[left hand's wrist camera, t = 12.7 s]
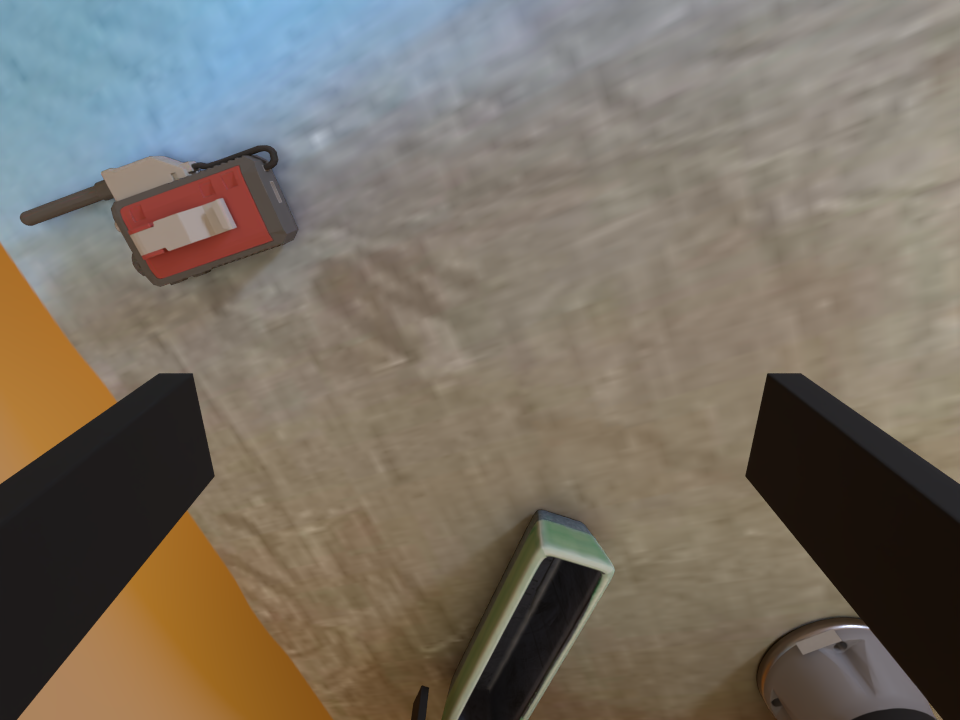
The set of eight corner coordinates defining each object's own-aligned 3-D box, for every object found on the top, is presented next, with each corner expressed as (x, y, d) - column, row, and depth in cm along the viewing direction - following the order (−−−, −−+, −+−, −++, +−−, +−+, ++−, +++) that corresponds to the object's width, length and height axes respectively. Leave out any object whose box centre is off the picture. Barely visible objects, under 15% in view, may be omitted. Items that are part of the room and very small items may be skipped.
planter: (532, 493, 50) (540, 545, 44) (601, 515, 51) (619, 569, 45) (437, 685, 60) (432, 753, 53) (497, 701, 61) (499, 769, 54)
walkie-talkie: (266, 115, 38) (28, 204, 41) (241, 111, 34) (-23, 210, 37) (317, 234, 41) (93, 310, 44) (299, 243, 37) (52, 327, 40)
